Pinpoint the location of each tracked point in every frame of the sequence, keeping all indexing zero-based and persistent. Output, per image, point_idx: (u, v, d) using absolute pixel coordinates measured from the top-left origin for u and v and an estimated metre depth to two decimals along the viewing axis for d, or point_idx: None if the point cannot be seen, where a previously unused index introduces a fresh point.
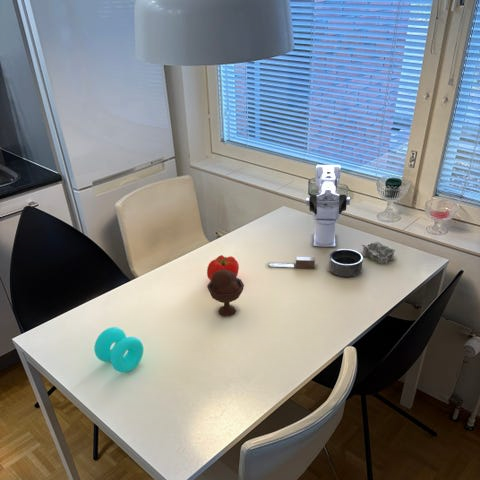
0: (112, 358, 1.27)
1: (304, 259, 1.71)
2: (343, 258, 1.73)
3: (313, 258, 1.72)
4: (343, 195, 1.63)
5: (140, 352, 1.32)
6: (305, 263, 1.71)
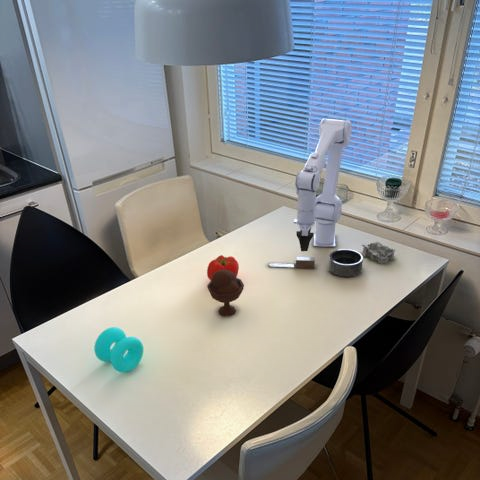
0: (112, 358, 1.27)
1: (304, 259, 1.71)
2: (343, 258, 1.73)
3: (313, 258, 1.72)
4: (296, 234, 1.61)
5: (140, 352, 1.32)
6: (305, 263, 1.71)
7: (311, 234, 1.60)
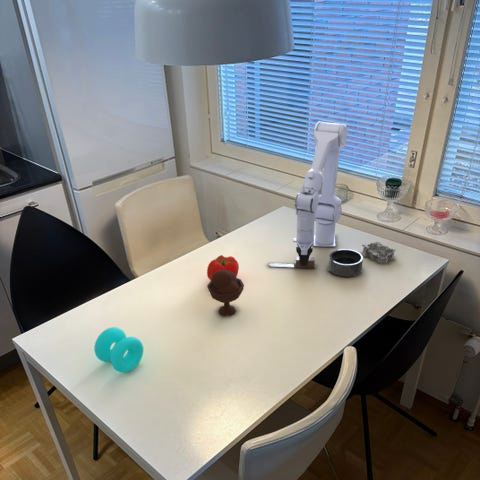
0: (112, 358, 1.27)
1: None
2: (343, 258, 1.73)
3: (313, 258, 1.72)
4: (296, 250, 1.67)
5: (140, 352, 1.32)
6: None
7: (310, 250, 1.66)
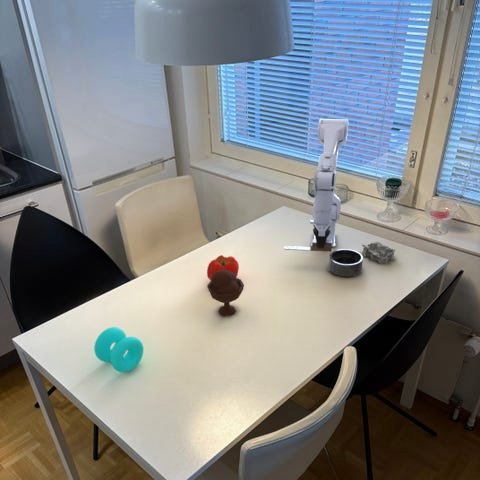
0: (112, 358, 1.27)
1: None
2: (343, 258, 1.73)
3: (330, 240, 1.66)
4: (313, 231, 1.62)
5: (140, 352, 1.32)
6: None
7: (328, 231, 1.61)
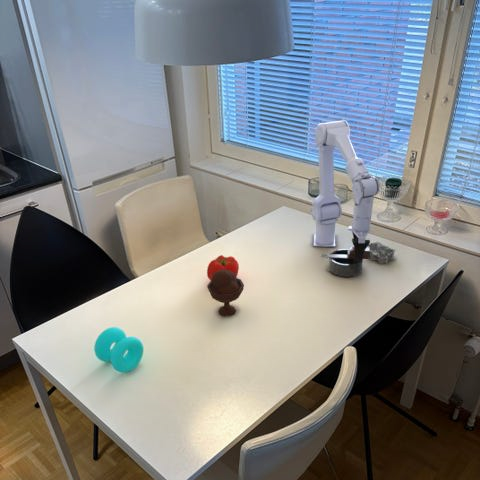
0: (112, 358, 1.27)
1: None
2: (343, 258, 1.73)
3: (368, 248, 1.66)
4: (352, 241, 1.59)
5: (140, 352, 1.32)
6: None
7: (367, 241, 1.58)
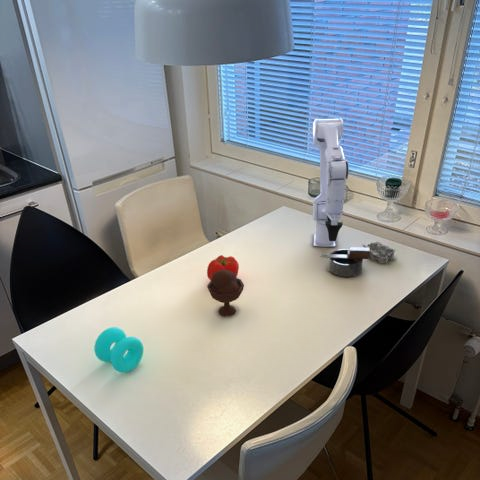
0: (112, 358, 1.27)
1: (359, 250, 1.65)
2: (343, 258, 1.73)
3: (368, 248, 1.66)
4: (325, 224, 1.62)
5: (140, 352, 1.32)
6: (360, 253, 1.65)
7: (340, 224, 1.61)
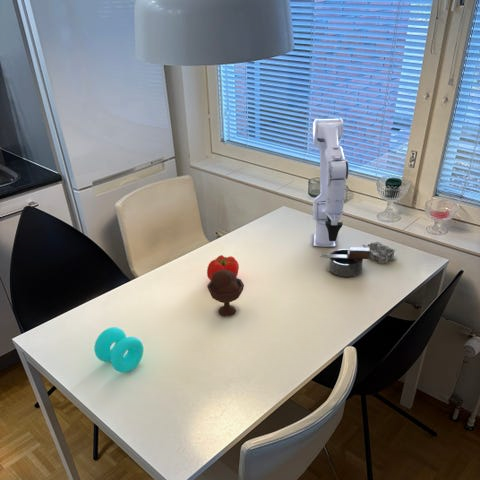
0: (112, 358, 1.27)
1: (359, 250, 1.65)
2: (343, 258, 1.73)
3: (368, 248, 1.66)
4: (325, 224, 1.62)
5: (140, 352, 1.32)
6: (360, 253, 1.65)
7: (340, 224, 1.61)
